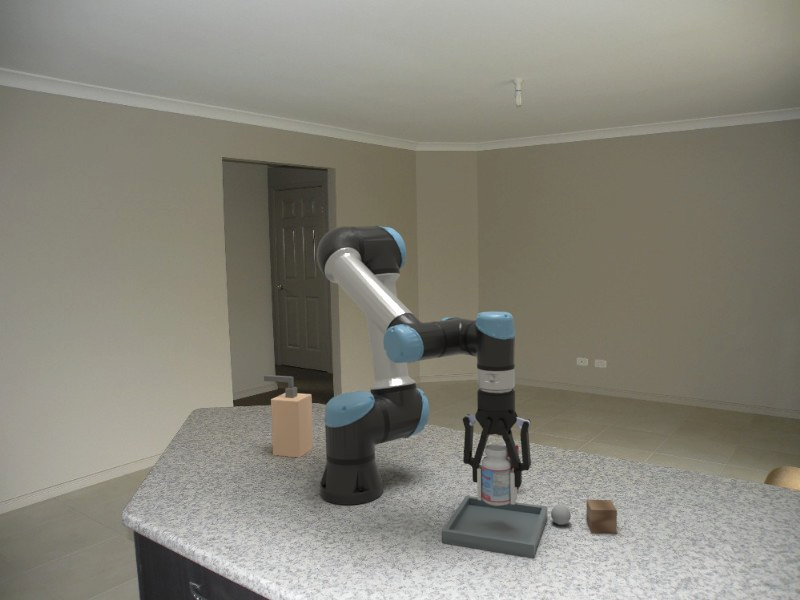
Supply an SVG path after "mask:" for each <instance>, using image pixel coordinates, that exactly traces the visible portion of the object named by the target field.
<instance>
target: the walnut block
mask: <svg viewBox="0 0 800 600" xmlns="http://www.w3.org/2000/svg"><path fill="white" fill-rule="evenodd" d="M585 510H586V522H585V523H586V524H587V527H588V528H589V531H590V533H591V534H606V535H607V534H608V535H610V534H612V535H616V534H618V533H617V532H618V531H617V528H618V527H617V526H618V521H617V520H618V509H617V508H616V506H615V504H614V503H613V501H612V499H586V509H585Z"/></svg>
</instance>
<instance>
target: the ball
mask: <svg viewBox="0 0 800 600" xmlns="http://www.w3.org/2000/svg"><path fill="white" fill-rule="evenodd" d="M550 511H551V512H550V517H551V520H552V521H553V522H554V523H555V524H557V525H559V526H564V525H567V524H568V523H569V522H570V521H571V511H570V510H569V508H568V507H567V506H566V505H564V504H556V505H554V506H553V507H552V509H551V510H550Z"/></svg>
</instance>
